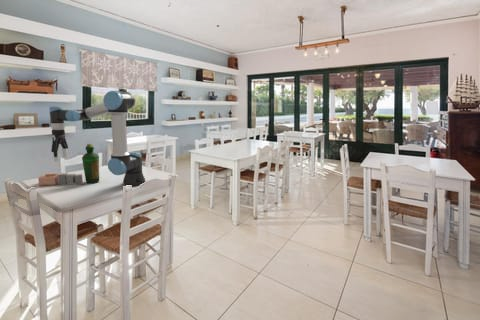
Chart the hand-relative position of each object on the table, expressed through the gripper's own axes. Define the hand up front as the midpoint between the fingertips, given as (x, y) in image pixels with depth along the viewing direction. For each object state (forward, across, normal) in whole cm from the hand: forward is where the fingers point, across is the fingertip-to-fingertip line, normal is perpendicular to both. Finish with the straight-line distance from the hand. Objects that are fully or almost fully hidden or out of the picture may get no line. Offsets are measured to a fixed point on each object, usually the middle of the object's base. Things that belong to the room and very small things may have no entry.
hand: (61, 159), depth 190 cm
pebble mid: (+17, 0, +5) cm, 18 cm away
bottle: (+17, -1, +19) cm, 26 cm away
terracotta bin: (+18, -1, -8) cm, 20 cm away
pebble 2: (+17, 0, +10) cm, 20 cm away
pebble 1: (+17, 0, 0) cm, 18 cm away
